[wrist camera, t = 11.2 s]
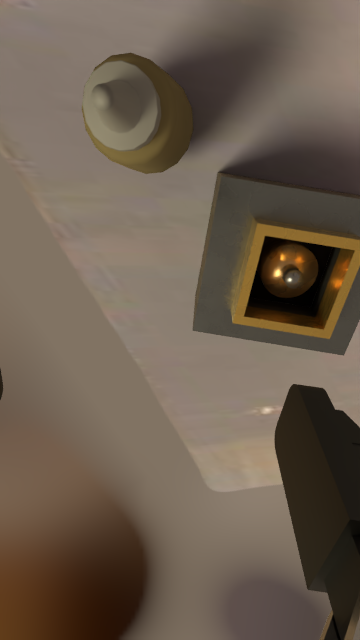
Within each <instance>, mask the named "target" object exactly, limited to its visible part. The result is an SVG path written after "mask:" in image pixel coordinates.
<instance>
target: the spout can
mask: <svg viewBox="0 0 360 640" xmlns="http://www.w3.org/2000/svg"><path fill="white" fill-rule="evenodd" d="M256 269H257V271H258V273H259V275H260V277H261V280H262V282H263V284H264V286H265V288H266V289H267V290H268V291H269V292H270V293H271V294H273V295H275V296H278V297H281V298H291V297H296V296H298V295H301V294H303V293H304V292H306V291H307V290H308V289H309V288H310V287H311V286H312V285H313V283H314V281H315V280H316V277H317V274H318V263H317V260H316V258H315V256H314V255H313V253H312V252H311V251H310V250H308V249H307V248H306V247H305V246H304V245H303V244H302V243H301V242H300V241H295V240H289V239H283V238H277V237H271V236H265V238H264V241H263V245H262V249H261V253H260V257H259V261H258V264H257V268H256Z"/></svg>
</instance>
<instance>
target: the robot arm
mask: <svg viewBox="0 0 360 640" xmlns="http://www.w3.org/2000/svg"><path fill="white" fill-rule="evenodd" d="M2 392H3V382H2V376H1V370H0V399H1V397H2ZM275 450H276V455H277V459H278V464H279V468H280V472H281V477H282V481H283V485H284V489H285V494H286V498H287V502H288V507H289V511H290V516H291V519H292V524H293V529H294V533H295V537H296V541H297V545H298V550H299V555H300V559H301V563H302V567H303V572H304V576H305V580H306V585H307V589H308V590H314V591H320V592H327V593H328V596H329V600H330V603H331V607H332V611H331V612H330V614H329V616H328V618H327V621H326V624H325V626H324V629H323V632H322V634H321V637H320V640H360V428H359V426H358V425H357V424H356V423H355V422H354V421H353V420H352V419H351V418H350V417H349V416H347V415H346V414H345V413H344V412H343V411H341V410H335V408H334V406H333V404H332V402H331V400H330V398H329V396H328V394H327V393H326V391H325V390H324V389H323V388H318V387H311V386H304V385H297V384H293V385H292V386H291V387H290V389H289V392H288V395H287V397H286V400H285V403H284V406H283V409H282V412H281V414H280V417H279V420H278V423H277V426H276V430H275Z"/></svg>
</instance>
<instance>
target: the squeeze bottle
mask: <svg viewBox="0 0 360 640" xmlns="http://www.w3.org/2000/svg"><path fill="white" fill-rule="evenodd" d="M82 112H83V117H84V122H85V127H86V131H87V132H88V134H89V136H90V138H91V140H92V141H93V143H94V145H95V147H96V148H97V149H98V150H99V151H100V152H102V153H103V154H104V155H105V156H106V157H107V158H108V159H110V160H111V161H113V162H116V163H118V164H120V165H123V166H125V167H128V168H130V169H133V170H136V171H139V172H142V173H145V174H149V173H158V172H163V171H165V170H167V169H168V168H170V167H172V166H174V165H175V164H177V163H178V161H179V160H180V159H181V157H182V156H183V155H184V153H185V152H186V151H187V149H188V147H189V143H190V140H191V136H192V132H193V117H192V108H191V105H190V103H189V101H188V99H187V96H186V94H185V92H184V89H183V88H182V87H181V86H180V85H179V84H178V83H177V82H175V81H174V80H173V79H172V78H171V77H170V76H169V75H168V74H167V73H166V72H165V71H163V70H162V69H161V68H160V67H158V66H157V65H156V64H155V63H154V62H152V61H151V60H149V59H147V58H144V57H141V56H138V55H136V54H133V53H126V54H119V55H112V56H110V57H109V58H107V59H106V60H105V61H103V62H102V63H101V64H99V65H98V66H97V67H95V69H94V71H93V72H92V74H91V76H90V78H89V80H88V81H87V83H86V85H85V88H84V95H83V102H82Z"/></svg>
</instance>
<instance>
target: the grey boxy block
mask: <svg viewBox="0 0 360 640" xmlns="http://www.w3.org/2000/svg"><path fill="white" fill-rule="evenodd" d="M265 236H271V237H277V238H283V239H289V240H295V241H301V242H307V243H313V244H319V245H325V246H332V250H331V252H330V255H329V258H328V261H327V263H326V266H325V269H324V272H323V275H322V277H321V280H320V283H319V286H318V288H317V291H316V294H315V297H314V300H313V302H312V305H311V307H307V306H301V305H294V304H288V303H282V302H276V301H270V300H264V299H258V298H252V297H249V295H250V291H251V287H252V283H253V280H254V276H255V272H256V268H257V264H258V261H259V257H260V253H261V249H262V245H263V241H264V238H265ZM359 320H360V195H354V194H348V193H342V192H336V191H330V190H324V189H318V188H312V187H306V186H299V185H293V184H287V183H281V182H275V181H269V180H263V179H257V178H251V177H245V176H238V175H232V174H226V173H220V172H218V174H217V180H216V185H215V191H214V196H213V202H212V207H211V213H210V218H209V224H208V229H207V235H206V240H205V246H204V251H203V257H202V263H201V268H200V274H199V279H198V285H197V290H196V296H195V308H194V320H193V331H198V332H204V333H210V334H216V335H222V336H229V337H235V338H241V339H247V340H253V341H259V342H265V343H271V344H277V345H283V346H290V347H296V348H302V349H308V350H314V351H320V352H326V353H332V354H338V355H344V354H345V351H346V349H347V347H348V345H349V342H350V340H351V338H352V336H353V333H354V331H355V329H356V327H357V324H358V322H359Z"/></svg>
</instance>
